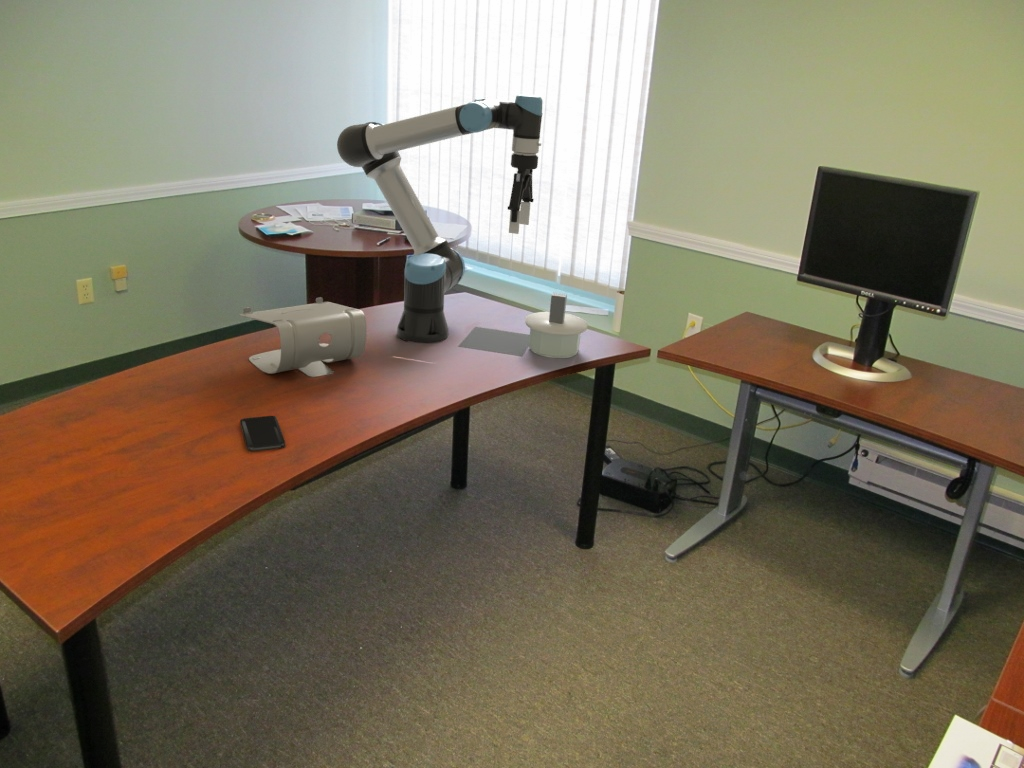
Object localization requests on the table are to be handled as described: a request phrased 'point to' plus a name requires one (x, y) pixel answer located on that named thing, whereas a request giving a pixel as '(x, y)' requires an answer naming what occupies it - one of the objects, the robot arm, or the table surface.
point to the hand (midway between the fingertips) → (518, 228)
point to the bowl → (554, 344)
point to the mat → (496, 341)
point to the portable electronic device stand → (311, 337)
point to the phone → (262, 433)
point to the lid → (556, 319)
